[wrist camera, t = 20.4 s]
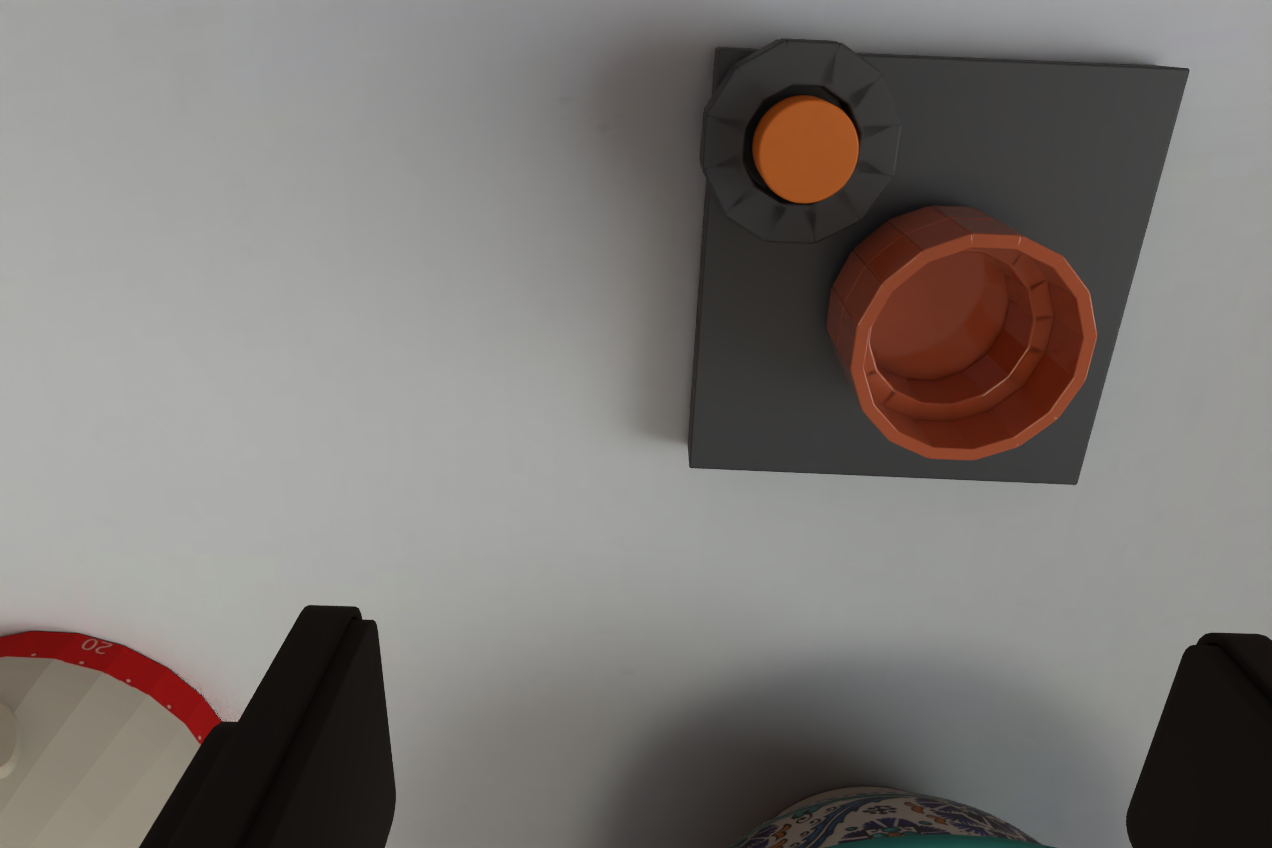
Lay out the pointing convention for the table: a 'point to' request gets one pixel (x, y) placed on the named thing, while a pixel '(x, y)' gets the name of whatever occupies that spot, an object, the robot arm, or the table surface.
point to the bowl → (884, 823)
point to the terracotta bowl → (960, 332)
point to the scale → (887, 188)
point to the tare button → (805, 148)
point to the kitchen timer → (89, 741)
